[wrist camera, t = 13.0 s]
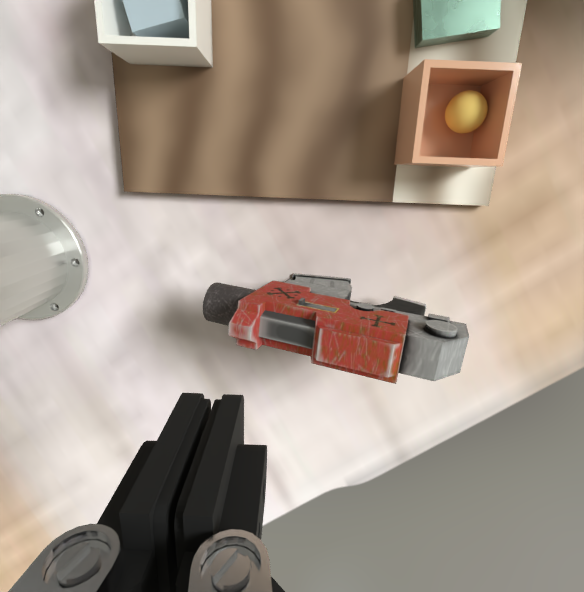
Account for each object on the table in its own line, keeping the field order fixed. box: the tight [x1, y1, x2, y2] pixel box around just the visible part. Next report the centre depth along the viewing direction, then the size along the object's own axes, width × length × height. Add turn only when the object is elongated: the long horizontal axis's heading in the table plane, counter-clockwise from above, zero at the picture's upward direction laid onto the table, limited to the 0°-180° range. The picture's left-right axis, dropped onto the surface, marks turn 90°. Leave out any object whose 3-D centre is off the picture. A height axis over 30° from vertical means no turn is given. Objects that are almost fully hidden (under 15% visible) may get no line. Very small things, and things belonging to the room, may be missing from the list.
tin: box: [413, 0, 501, 48], centre depth 30 cm, size 6×4×2 cm, turn 98°
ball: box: [445, 90, 488, 133], centre depth 32 cm, size 3×3×3 cm
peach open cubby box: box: [394, 59, 522, 167], centre depth 31 cm, size 7×7×6 cm
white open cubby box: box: [94, 0, 213, 67], centre depth 29 cm, size 7×7×6 cm
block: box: [123, 0, 189, 38], centre depth 29 cm, size 4×4×4 cm
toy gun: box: [203, 273, 469, 384], centre depth 33 cm, size 4×20×15 cm, turn 85°
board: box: [112, 0, 527, 206], centre depth 34 cm, size 34×18×1 cm, turn 88°
